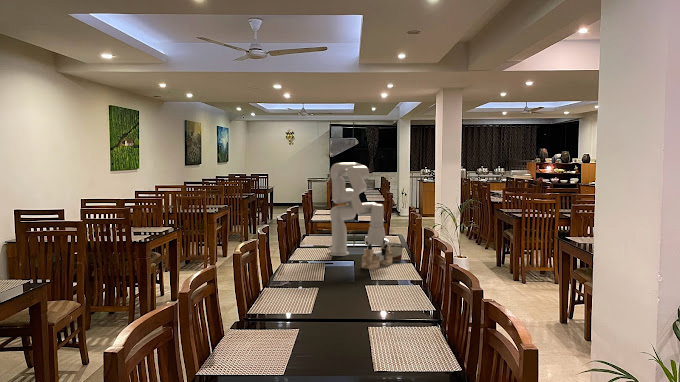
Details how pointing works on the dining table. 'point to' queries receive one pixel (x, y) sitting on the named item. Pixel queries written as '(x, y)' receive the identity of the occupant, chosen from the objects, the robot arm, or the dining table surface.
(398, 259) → the food container
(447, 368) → the dining table surface
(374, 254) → the bed rail
